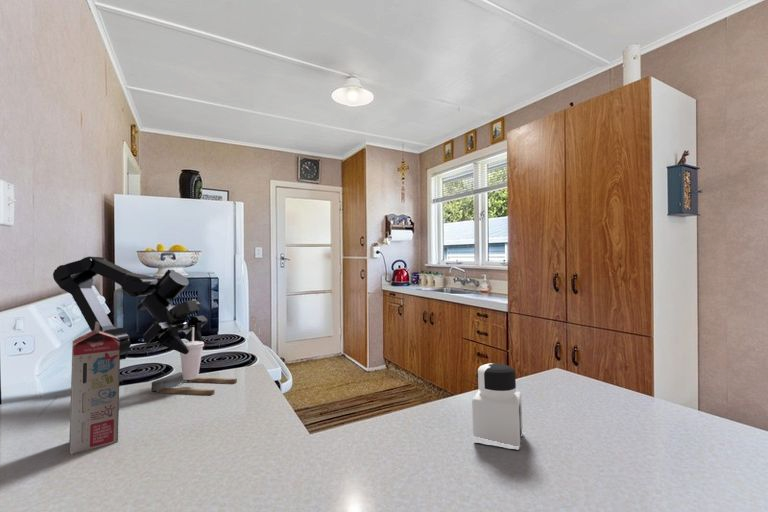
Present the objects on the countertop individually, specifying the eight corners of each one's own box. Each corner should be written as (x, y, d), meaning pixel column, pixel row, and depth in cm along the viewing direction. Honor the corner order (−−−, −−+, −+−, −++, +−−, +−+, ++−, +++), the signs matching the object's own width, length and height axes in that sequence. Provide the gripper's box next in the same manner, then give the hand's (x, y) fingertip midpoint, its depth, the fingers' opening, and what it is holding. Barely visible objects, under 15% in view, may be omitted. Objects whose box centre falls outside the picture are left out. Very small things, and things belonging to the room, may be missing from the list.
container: (523, 433, 66) (520, 362, 67) (519, 452, 59) (516, 373, 60) (480, 426, 70) (478, 359, 70) (473, 443, 63) (470, 368, 63)
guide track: (149, 392, 95) (150, 382, 95) (180, 380, 106) (180, 371, 106) (211, 394, 92) (212, 385, 92) (236, 382, 103) (236, 373, 103)
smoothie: (208, 375, 102) (209, 326, 103) (194, 381, 96) (195, 329, 97) (187, 374, 103) (188, 325, 104) (171, 381, 97) (173, 329, 97)
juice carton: (113, 431, 71) (116, 319, 72) (117, 442, 66) (120, 322, 67) (69, 441, 66) (73, 323, 68) (70, 454, 61) (74, 326, 63)
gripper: (154, 292, 92) (190, 336, 90) (202, 289, 111) (234, 326, 108) (127, 322, 93) (162, 366, 91) (179, 314, 112) (210, 351, 109)
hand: (195, 350), depth 100 cm, fingers closed on smoothie, 6 cm apart
